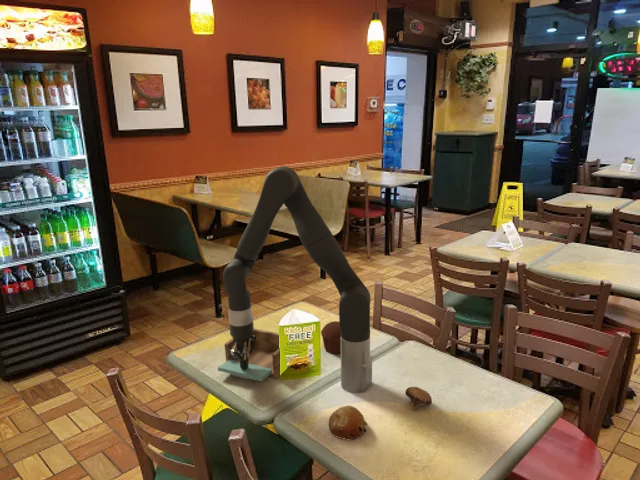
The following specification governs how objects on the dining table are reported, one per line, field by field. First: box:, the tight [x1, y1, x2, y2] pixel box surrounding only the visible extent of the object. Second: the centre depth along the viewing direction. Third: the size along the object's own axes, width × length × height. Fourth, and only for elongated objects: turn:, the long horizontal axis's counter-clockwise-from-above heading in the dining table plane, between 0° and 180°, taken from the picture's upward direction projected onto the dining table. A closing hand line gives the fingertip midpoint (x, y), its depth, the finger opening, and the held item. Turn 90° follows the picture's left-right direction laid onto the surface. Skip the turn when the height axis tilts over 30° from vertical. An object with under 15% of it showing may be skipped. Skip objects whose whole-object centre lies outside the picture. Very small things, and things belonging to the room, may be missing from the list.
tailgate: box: [217, 360, 272, 382], centre depth 156 cm, size 17×2×7 cm
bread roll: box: [328, 405, 368, 440], centre depth 130 cm, size 10×10×8 cm
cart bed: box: [224, 327, 281, 380], centre depth 165 cm, size 20×14×9 cm
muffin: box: [320, 320, 341, 355], centre depth 174 cm, size 12×11×10 cm
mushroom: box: [404, 386, 433, 411], centre depth 140 cm, size 8×8×6 cm
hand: (244, 368), depth 156 cm, fingers closed
